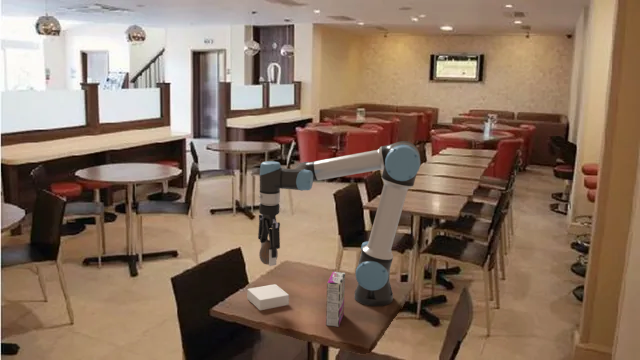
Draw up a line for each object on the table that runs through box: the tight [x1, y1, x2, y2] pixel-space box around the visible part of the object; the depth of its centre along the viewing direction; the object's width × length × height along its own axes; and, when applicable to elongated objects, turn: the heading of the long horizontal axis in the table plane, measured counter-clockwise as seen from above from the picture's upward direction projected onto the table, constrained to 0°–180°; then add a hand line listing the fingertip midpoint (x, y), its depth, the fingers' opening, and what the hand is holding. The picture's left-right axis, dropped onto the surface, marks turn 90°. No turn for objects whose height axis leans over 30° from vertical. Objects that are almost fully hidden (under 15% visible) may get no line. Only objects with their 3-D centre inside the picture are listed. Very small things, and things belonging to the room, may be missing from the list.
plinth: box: [246, 283, 290, 311], centre depth 222 cm, size 12×12×4 cm
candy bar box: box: [325, 271, 346, 328], centre depth 207 cm, size 11×5×16 cm, turn 169°
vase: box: [258, 239, 279, 266], centre depth 219 cm, size 7×7×9 cm
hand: (268, 261), depth 220 cm, fingers closed on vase, 7 cm apart
